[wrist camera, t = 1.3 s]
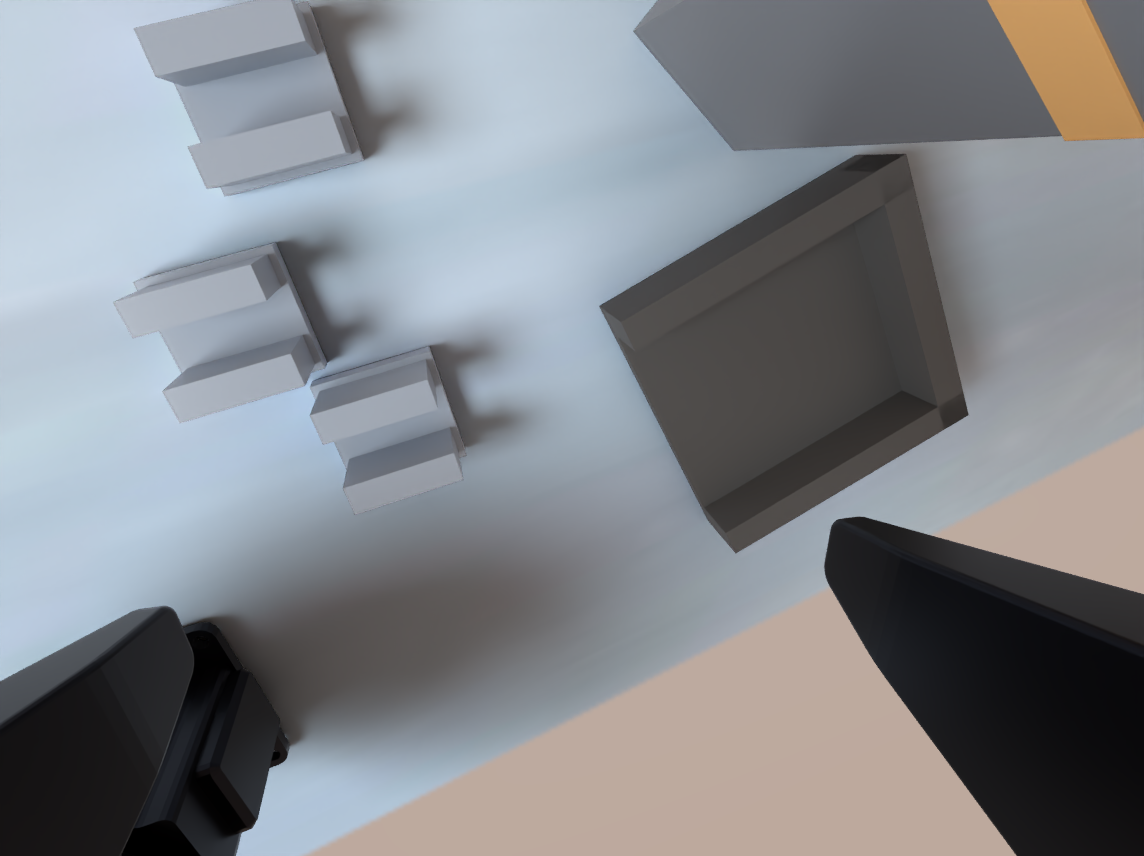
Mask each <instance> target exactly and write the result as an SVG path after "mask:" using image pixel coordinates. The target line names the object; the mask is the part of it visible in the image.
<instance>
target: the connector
mask: <svg viewBox="0 0 1144 856" xmlns="http://www.w3.org/2000/svg"><path fill="white" fill-rule="evenodd" d="M633 32H634V33H635V34H636V35H637V36H638V38H639V39H640V40H641V41H642V42H643V43H644V45H645V46H646V47H647V48H648V49H649V51H650V52H651V53H652V54H653V55H654V57H655V58H656V59H657V60H658V61H659V62H660V64H661V65H662V66H663V67H664V68H665V70H666V71H667V72H668V73H669V74H670V75H671V77H672V78H673V79H674V80H675V81H676V83H677V84H678V85H679V86H680V87H681V89H682V90H683V91H684V92H685V93H686V94H687V96H688V97H689V98H690V99H691V100H692V102H693V103H694V104H695V105H696V106H697V107H698V109H699V110H700V111H701V112H702V113H703V115H704V116H705V117H706V118H707V119H708V121H709V122H710V123H711V124H712V125H713V126H714V128H715V129H716V130H717V131H718V132H719V134H720V135H721V136H722V137H723V138H724V140H725V141H726V142H727V143H728V144H729V145H730V147H731V148H732V149H733V150H734V151H740V150H762V149H784V148H806V147H829V146H851V145H873V144H895V143H917V142H939V141H961V140H984V139H1006V138H1028V137H1050V136H1062V137H1063V139H1064V140H1065V141H1076V140H1103V139H1129V138H1144V0H658V1H657V2H656V3H655V4H654V6H653V7H652V8H651V9H650V11H649V12H648V13H647V14H646V16H645V17H644V18H643V19H642V21H641V22H640V23H639V24H638V26H637V27H636V28H635V29H634V31H633Z"/></svg>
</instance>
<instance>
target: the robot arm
mask: <svg viewBox="0 0 1144 856" xmlns="http://www.w3.org/2000/svg"><path fill="white" fill-rule="evenodd" d="M824 568H825V575H826V579H827V582H828V584H829V586H830V588H831V589H832V591H833V593H834V594H835V596H836V598H837V600H838V601H839V603H840V605H841V606H842V608H843V610H844V612H845V613H846V615H847V616H848V619H849V620H850V622H851V624H852V625H853V627H854V629H855V630H856V632H857V634H858V636H859V637H860V639H861V641H862V642H863V644H864V646H865V648H866V649H867V651H868V653H869V654H870V656H871V657H872V659H873V661H874V662H875V664H876V665H877V666H878V668H879V669H880V671H881V672H882V674H883V675H884V676H885V678H886V679H887V680H888V682H889V683H890V685H891V686H892V687H893V689H894V690H895V691H896V693H897V694H898V696H899V697H900V698H901V699H902V701H903V702H904V704H905V705H906V706H907V708H908V709H909V710H910V712H911V713H912V714H913V716H914V717H915V718H916V720H917V721H918V723H919V724H920V725H921V727H922V728H923V729H924V731H925V732H926V733H927V735H928V736H929V738H930V739H931V740H932V742H933V743H934V744H935V746H936V747H937V748H938V750H939V751H940V752H941V754H942V755H943V756H944V758H945V759H946V761H947V762H948V763H949V765H950V766H951V767H952V769H953V770H954V771H955V772H956V774H957V775H958V777H959V778H960V779H961V781H962V782H963V784H964V785H965V786H966V788H967V789H968V790H969V792H970V793H971V794H972V796H973V797H974V798H975V800H976V801H977V802H978V804H979V805H980V806H981V808H982V809H983V811H984V812H985V813H986V814H987V816H988V817H989V819H990V820H991V822H992V823H993V824H994V826H995V827H996V828H997V830H998V831H999V832H1000V834H1001V835H1002V836H1003V838H1004V839H1005V840H1006V842H1007V843H1008V845H1009V846H1010V847H1011V849H1012V850H1013V851H1014V853H1015V854H1016V855H1017V856H1144V594H1141V593H1137V592H1134V591H1130V590H1126V589H1123V588H1119V587H1116V586H1112V585H1108V584H1105V583H1101V582H1098V581H1094V580H1090V579H1087V578H1083V577H1079V576H1076V575H1072V574H1069V573H1065V572H1061V571H1058V570H1054V569H1050V568H1047V567H1043V566H1040V565H1036V564H1032V563H1029V562H1025V561H1021V560H1018V559H1014V558H1011V557H1007V556H1003V555H999V554H996V553H992V552H989V551H985V550H982V549H978V548H974V547H971V546H967V545H963V544H960V543H956V542H952V541H949V540H945V539H942V538H938V537H934V536H931V535H927V534H924V533H920V532H916V531H913V530H909V529H906V528H902V527H898V526H895V525H891V524H887V523H884V522H880V521H877V520H873V519H869V518H866V517H852V518H844V519H838V520H836V521H835V522H834V523H833V525H832V527H831V530H830V536H829V541H828V547H827V552H826V558H825V565H824ZM199 636H202V637H206V638H207V639H208V641H201V640H198V639H197V638H196V637H199ZM279 725H280V719H279V717H278V716H277V714H276V712H275V711H274V709H273V708H272V706H271V704H270V703H269V701H268V699H267V698H266V696H265V695H264V693H263V691H262V690H261V688H260V686H259V685H258V683H257V681H256V680H255V678H254V677H253V675H252V673H251V672H249V671H247V670H246V669H243V667H242V666H241V664H240V662H239V661H238V659H237V657H236V656H235V654H234V653H233V651H232V649H231V648H230V646H229V645H228V643H227V641H226V640H225V638H224V636H223V635H222V633H221V632H220V630H219V629H218V628H217V627H216V626H215V625H213V624H211V623H206V622H202V623H196V624H193V625H190V626H187V627H184V628H183V627H182V625H181V623H180V621H179V618H178V616H177V614H176V612H175V611H174V610H173V609H172V608H170V607H168V606H159V607H151V608H144V609H138V610H135V611H132V612H130V613H128V614H127V615H125V616H123V617H121V618H119V619H117V620H115V621H113V622H111V623H110V624H108V625H106V626H104V627H102V628H100V629H98V630H96V631H94V632H93V633H91V634H89V635H87V636H85V637H83V638H81V639H79V640H77V641H76V642H74V643H72V644H70V645H68V646H66V647H64V648H62V649H60V650H59V651H57V652H55V653H53V654H51V655H49V656H47V657H45V658H43V659H42V660H40V661H38V662H36V663H34V664H32V665H30V666H28V667H26V668H25V669H23V670H21V671H19V672H17V673H15V674H13V675H11V676H9V677H7V678H6V679H4V680H2V681H0V856H236V853H237V849H238V845H239V841H240V837H241V833H242V832H244V831H247V830H249V829H252V828H253V826H254V824H255V822H256V820H257V819H258V815H259V811H260V806H261V802H262V798H263V794H264V789H265V785H266V781H267V776H268V772H269V768H271V767H273V766H276V765H279V764H281V763H283V762H284V761H285V760H286V759H287V755H288V751H289V746H290V745H289V742H288V740H287V738H286V737H285V735H284V733H283V732H282V730H281V729H280V727H279ZM274 750H276V752H273V751H274Z"/></svg>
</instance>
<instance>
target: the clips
mask: <svg viewBox="0 0 1144 856" xmlns="http://www.w3.org/2000/svg"><path fill="white" fill-rule="evenodd" d="M134 30H135V33H136V35H137V37H138V39H139V41H140V44H141V46H142V48H143V50H144V52H145V55H146V57H147V59H148V61H149V63H150V66H151V68H152V70H153V72H154V74H155V77H158V78H161V79H164V80H167V81H170V82H173V83H174V84H175V86H176V89H177V91H178V93H179V95H180V97H181V100H182V102H183V104H184V106H185V109H186V111H187V113H188V115H189V118H190V120H191V122H192V124H193V127H194V129H195V131H196V133H197V136H198V138H199V140H200V142H201V143H200V144H196V145H192V146H188V149H189V151H190V153H191V156H192V158H193V160H194V162H195V164H196V167H197V169H198V171H199V173H200V175H201V178H202V180H203V182H204V184H205V186H206V189H209V188H217V187H221V189H222V192H223V194H224V196H229V195H234V194H237V193H241V192H245V191H249V190H253V189H257V188H260V187H264V186H268V185H272V184H276V183H279V182H283V181H287V180H291V179H295V178H298V177H302V176H306V175H310V174H314V173H317V172H321V171H325V170H329V169H333V168H337V167H340V166H344V165H348V164H352V163H356V162H359V161H363V160H364V158H363V155H362V152H361V149H360V146H359V143H358V141H357V138H356V135H355V132H354V129H353V126H352V123H351V121H350V118H349V115H348V112H347V109H346V106H345V103H344V101H343V98H342V95H341V92H340V89H339V86H338V83H337V81H336V78H335V75H334V72H333V69H332V66H331V63H330V61H329V58H328V55H327V52H326V49H325V46H324V43H323V41H322V38H321V35H320V32H319V29H318V26H317V23H316V21H315V18H314V15H313V12H312V9H311V7H310V5H309V3H308V2H302V3H298V4H296V3H295V2H294V0H254V1H250V2H245V3H241V4H237V5H232V6H228V7H224V8H219V9H215V10H210V11H206V12H202V13H197V14H193V15H189V16H184V17H180V18H176V19H171V20H167V21H162V22H158V23H154V24H149V25H145V26H141V27H136V28H134ZM133 284H134V285H135V287H136V289H137V291H136V292H134V293H132V294H130V295H128V296H126V297H123V298H121V299H119V300H117V301H115V302H113V304H114V305H115V307H116V309H117V311H118V313H119V314H120V316H121V318H122V320H123V322H124V323H125V325H126V327H127V329H128V331H129V332H130V334H131V336H132V338H137V337H140V336H144V335H147V334H151V333H154V332H158V331H159V332H160V334H161V336H162V338H163V340H164V342H165V344H166V345H167V347H168V349H169V351H170V353H171V355H172V357H173V359H174V360H175V362H176V364H177V366H178V368H179V370H180V372H181V375H180V376H178V377H177V378H176V379H175V380H174V381H173V382H172V383H171V384H170V385H169V386H167V387H166V388H165V389H164V390H163V391H162V392H163V394H164V396H165V398H166V399H167V401H168V403H169V405H170V407H171V408H172V410H173V412H174V414H175V416H176V417H177V419H178V421H179V423H183V422H186V421H189V420H193V419H196V418H199V417H203V416H206V415H209V414H213V413H216V412H219V411H223V410H226V409H229V408H233V407H236V406H239V405H243V404H246V403H249V402H253V401H256V400H259V399H263V398H266V397H269V396H273V395H276V394H279V393H283V392H286V391H289V390H293V389H296V388H299V387H303V386H305V385H306V383H307V380H308V378H309V376H310V374H311V373H312V372H315V371H319V370H322V369H325V367H326V365H327V361H326V359H325V357H324V354H323V352H322V350H321V347H320V345H319V343H318V340H317V338H316V336H315V333H314V331H313V328H312V326H311V324H310V321H309V319H308V317H307V314H306V312H305V310H304V307H303V305H302V303H301V300H300V298H299V296H298V293H297V291H296V289H295V286H294V284H293V282H292V279H291V277H290V274H289V272H288V270H287V267H286V265H285V263H284V260H283V258H282V256H281V253H280V251H279V249H278V246H277V244H276V242H274V243H271V244H267V245H263V246H260V247H256V248H252V249H249V250H245V251H241V252H238V253H234V254H230V255H227V256H223V257H219V258H216V259H212V260H208V261H205V262H201V263H197V264H194V265H190V266H186V267H183V268H179V269H175V270H172V271H168V272H164V273H161V274H157V275H153V276H150V277H146V278H142V279H140V280H137V281H135V282H133ZM310 389H311V391H312V393H313V396H314V398H315V400H316V401H315V404H314V406H313V409H312V411H311V414H310V417H311V419H312V422H313V424H314V426H315V428H316V430H317V433H318V435H319V437H320V439H321V441H322V444H323V445H325V444H328V443H331V442H334V443H335V445H336V447H337V450H338V452H339V454H340V456H341V459H342V461H343V463H344V465H345V467H346V470H347V471H346V476H345V481H344V486H343V490H344V492H345V494H346V496H347V498H348V501H349V503H350V505H351V507H352V509H353V512H354V514H355V515H357V514H360V513H363V512H366V511H369V510H372V509H375V508H378V507H381V506H384V505H387V504H390V503H393V502H396V501H400V500H403V499H406V498H409V497H412V496H415V495H418V494H421V493H424V492H427V491H430V490H433V489H436V488H439V487H442V486H446V485H449V484H452V483H455V482H458V481H461V480H463V475H462V469H461V463H460V457H464V456H467V455H466V450H465V446H464V444H463V441H462V438H461V435H460V432H459V429H458V426H457V424H456V421H455V418H454V415H453V412H452V409H451V406H450V404H449V401H448V398H447V395H446V392H445V389H444V386H443V384H442V381H441V378H440V375H439V372H438V369H437V366H436V364H435V361H434V358H433V355H432V352H431V349H430V346H428V347H425V348H422V349H418V350H415V351H412V352H408V353H405V354H402V355H398V356H395V357H392V358H388V359H385V360H381V361H378V362H375V363H371V364H368V365H365V366H361V367H358V368H355V369H351V370H348V371H345V372H341V373H338V374H335V375H331V376H328V377H325V378H321V379H318V380H315V381H312V384H311V386H310Z"/></svg>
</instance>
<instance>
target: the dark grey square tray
mask: <svg viewBox="0 0 1144 856" xmlns="http://www.w3.org/2000/svg"><path fill="white" fill-rule="evenodd" d="M599 307H600V309H601V310H602V312H603V314H604V316H605V318H606V320H607V322H608V324H609V326H610V328H611V330H612V332H613V334H614V336H615V338H616V340H617V342H618V344H619V346H620V348H621V350H622V352H623V354H624V356H625V358H626V360H627V362H628V364H629V366H630V368H631V370H632V372H633V374H634V375H635V377H636V379H637V381H638V383H639V385H640V387H641V389H642V391H643V393H644V395H645V397H646V399H647V401H648V403H649V405H650V407H651V409H652V411H653V413H654V415H655V417H656V419H657V421H658V423H659V425H660V427H661V429H662V431H663V433H664V435H665V437H666V439H667V440H668V442H669V444H670V446H671V448H672V450H673V452H674V454H675V456H676V458H677V460H678V462H679V464H680V466H681V468H682V470H683V472H684V474H685V476H686V478H687V480H688V482H689V484H690V486H691V488H692V490H693V492H694V494H695V496H696V498H697V500H698V502H699V504H700V505H701V507H702V509H703V511H704V513H705V515H706V517H707V519H708V521H709V522H710V523H711V525H712V526H713V527H714V528H715V529H716V531H717V532H718V533H719V534H720V535H721V536H722V538H723V539H724V540H725V541H726V542H727V544H728V545H729V546H730V547H731V548H732V550H733V551H734V552H735V553H737V552H739V551H741V550H742V549H744V548H746V547H747V546H749V545H751V544H752V543H754V542H756V541H757V540H759V539H761V538H763V537H764V536H766V535H768V534H769V533H771V532H773V531H774V530H776V529H778V528H779V527H781V526H783V525H784V524H786V523H788V522H789V521H791V520H793V519H794V518H796V517H798V516H800V515H801V514H803V513H805V512H806V511H808V510H810V509H811V508H813V507H815V506H816V505H818V504H820V503H821V502H823V501H825V500H826V499H828V498H830V497H831V496H833V495H835V494H837V493H838V492H840V491H842V490H843V489H845V488H847V487H848V486H850V485H852V484H853V483H855V482H857V481H858V480H860V479H862V478H863V477H865V476H867V475H868V474H870V473H872V472H874V471H875V470H877V469H879V468H880V467H882V466H884V465H885V464H887V463H889V462H890V461H892V460H894V459H895V458H897V457H899V456H900V455H902V454H904V453H905V452H907V451H909V450H910V449H912V448H914V447H916V446H917V445H919V444H921V443H922V442H924V441H926V440H927V439H929V438H931V437H932V436H934V435H936V434H937V433H939V432H941V431H942V430H944V429H946V428H947V427H949V426H951V425H953V424H954V423H956V422H958V421H959V420H961V419H963V418H964V417H966V416H968V411H967V407H966V402H965V398H964V394H963V390H962V386H961V382H960V377H959V373H958V369H957V365H956V361H955V357H954V352H953V348H952V344H951V340H950V336H949V332H948V327H947V323H946V319H945V315H944V311H943V306H942V302H941V298H940V294H939V290H938V286H937V281H936V277H935V273H934V269H933V265H932V261H931V256H930V252H929V248H928V244H927V240H926V235H925V231H924V227H923V223H922V219H921V215H920V210H919V206H918V202H917V198H916V194H915V190H914V185H913V181H912V177H911V173H910V169H909V165H908V160H907V156H906V154H886V155H855V156H854V157H852V158H850V159H848V160H847V161H845V162H843V163H842V164H840V165H838V166H837V167H835V168H833V169H832V170H830V171H828V172H826V173H825V174H823V175H821V176H820V177H818V178H816V179H815V180H813V181H811V182H809V183H808V184H806V185H804V186H803V187H801V188H799V189H798V190H796V191H794V192H792V193H791V194H789V195H787V196H786V197H784V198H782V199H781V200H779V201H777V202H775V203H774V204H772V205H770V206H769V207H767V208H765V209H764V210H762V211H760V212H759V213H757V214H755V215H753V216H752V217H750V218H748V219H747V220H745V221H743V222H742V223H740V224H738V225H736V226H735V227H733V228H731V229H730V230H728V231H726V232H725V233H723V234H721V235H719V236H718V237H716V238H714V239H713V240H711V241H709V242H708V243H706V244H704V245H703V246H701V247H699V248H697V249H696V250H694V251H692V252H691V253H689V254H687V255H686V256H684V257H682V258H680V259H679V260H677V261H675V262H674V263H672V264H670V265H669V266H667V267H665V268H663V269H662V270H660V271H658V272H657V273H655V274H653V275H652V276H650V277H648V278H646V279H645V280H643V281H641V282H640V283H638V284H636V285H635V286H633V287H631V288H630V289H628V290H626V291H624V292H623V293H621V294H619V295H618V296H616V297H614V298H613V299H611V300H609V301H607V302H606V303H604V304H602V305H601V306H599Z"/></svg>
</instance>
